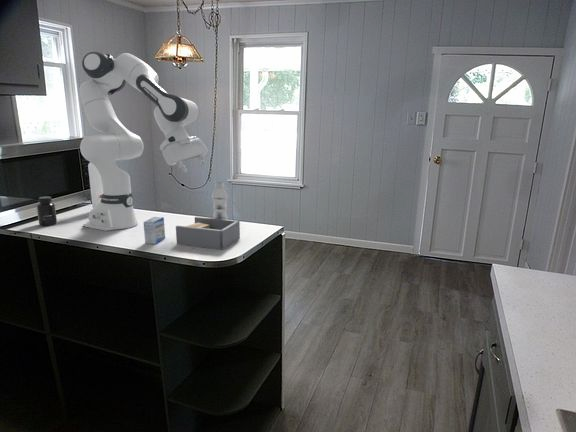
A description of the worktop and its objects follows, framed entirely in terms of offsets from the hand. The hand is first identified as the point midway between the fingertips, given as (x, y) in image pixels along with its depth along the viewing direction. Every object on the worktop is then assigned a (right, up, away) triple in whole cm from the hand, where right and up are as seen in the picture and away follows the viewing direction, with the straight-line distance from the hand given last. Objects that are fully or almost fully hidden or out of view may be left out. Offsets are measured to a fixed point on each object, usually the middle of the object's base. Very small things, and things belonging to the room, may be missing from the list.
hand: (195, 168), depth 170 cm
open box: (+8, -30, -12) cm, 33 cm away
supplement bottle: (-66, -24, +7) cm, 70 cm away
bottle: (-53, -18, +31) cm, 64 cm away
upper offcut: (+3, -27, -12) cm, 29 cm away
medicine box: (-12, -30, -13) cm, 35 cm away
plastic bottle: (+10, -26, +3) cm, 28 cm away
